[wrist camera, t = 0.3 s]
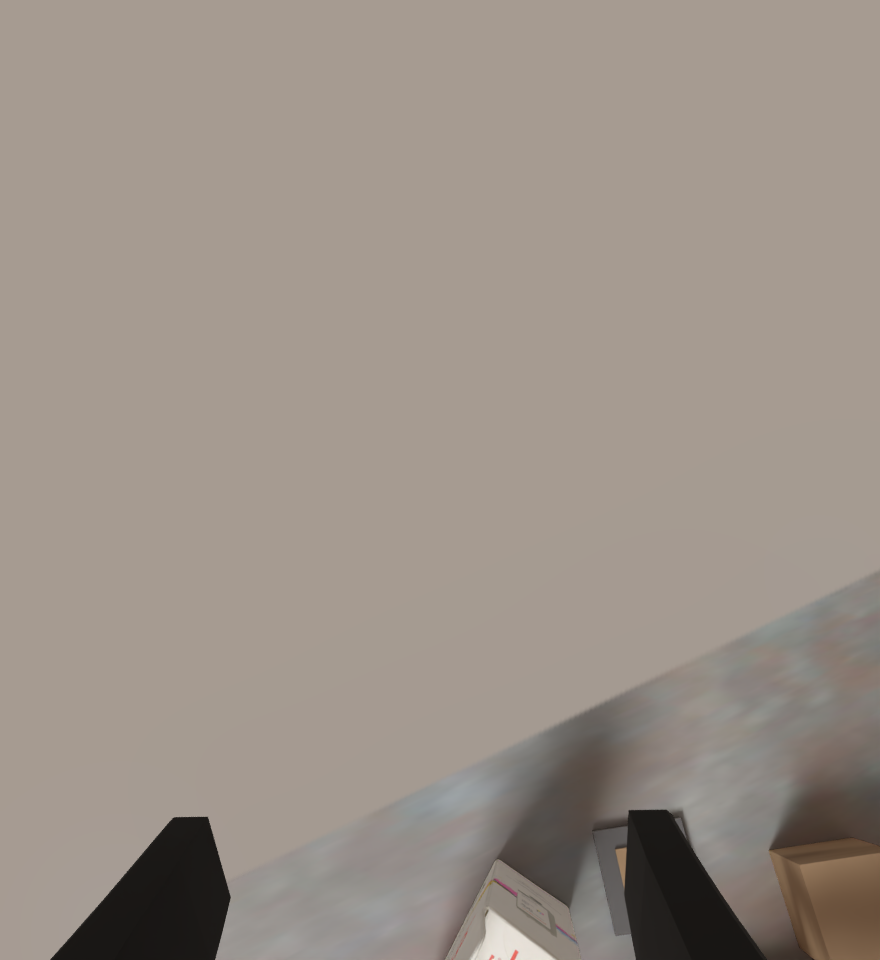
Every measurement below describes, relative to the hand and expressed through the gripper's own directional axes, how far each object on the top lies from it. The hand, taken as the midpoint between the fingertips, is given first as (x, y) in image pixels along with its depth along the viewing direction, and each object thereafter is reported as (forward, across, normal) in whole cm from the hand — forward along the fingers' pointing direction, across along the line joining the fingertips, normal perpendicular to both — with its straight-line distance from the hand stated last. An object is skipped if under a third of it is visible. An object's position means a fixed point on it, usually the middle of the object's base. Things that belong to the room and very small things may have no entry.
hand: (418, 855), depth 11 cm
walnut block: (+16, -19, +25) cm, 35 cm away
